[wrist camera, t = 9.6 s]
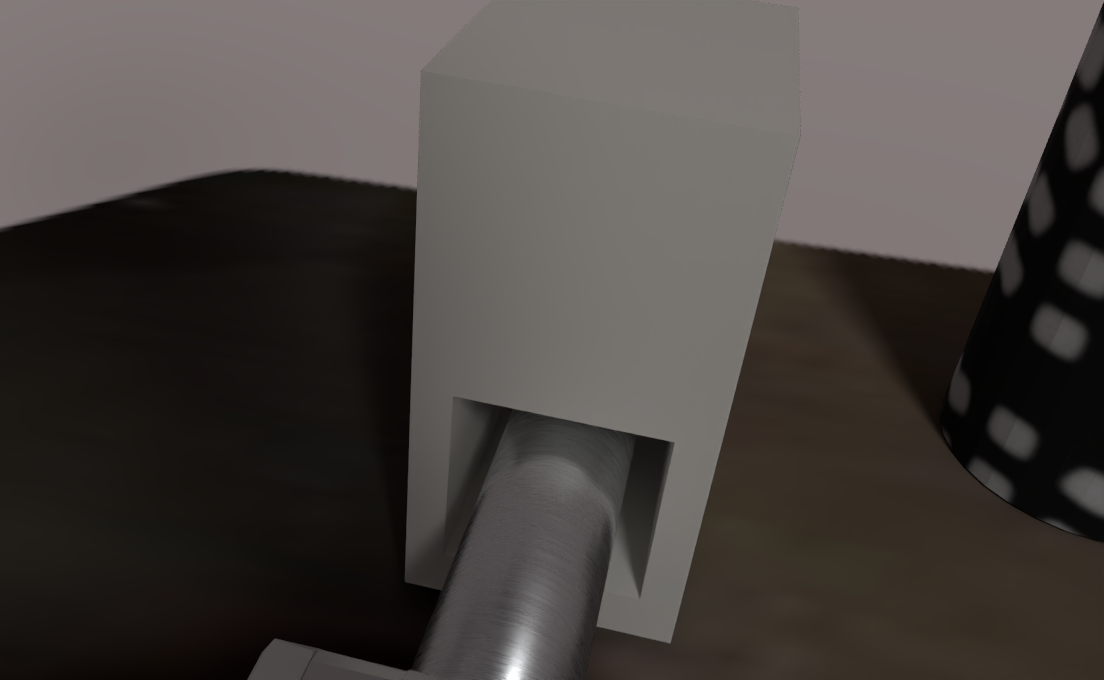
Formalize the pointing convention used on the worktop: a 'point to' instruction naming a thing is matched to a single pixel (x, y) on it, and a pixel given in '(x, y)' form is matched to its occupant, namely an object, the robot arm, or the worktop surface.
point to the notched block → (595, 257)
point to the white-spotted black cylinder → (1045, 332)
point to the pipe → (532, 556)
